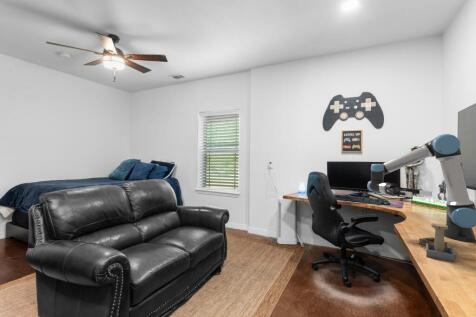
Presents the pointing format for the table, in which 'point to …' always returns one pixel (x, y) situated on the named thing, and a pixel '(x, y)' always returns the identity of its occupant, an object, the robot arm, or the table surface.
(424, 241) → the collar
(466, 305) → the table surface
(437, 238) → the handle
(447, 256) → the tray
